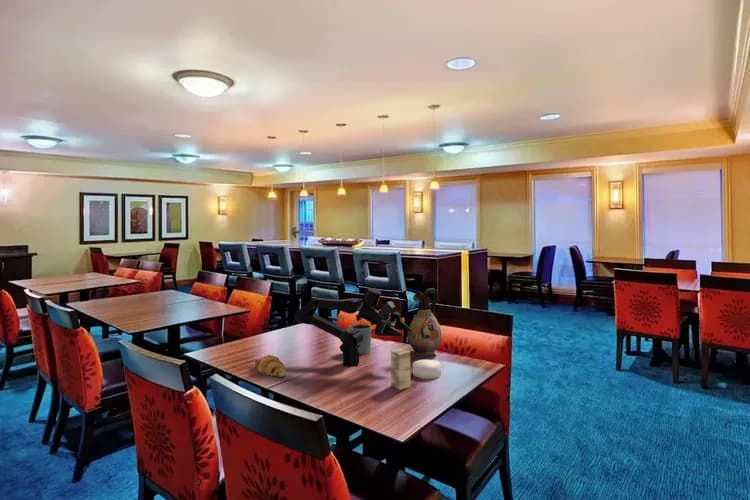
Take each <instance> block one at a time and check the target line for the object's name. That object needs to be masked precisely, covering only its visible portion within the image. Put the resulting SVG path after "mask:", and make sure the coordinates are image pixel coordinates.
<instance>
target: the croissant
mask: <svg viewBox="0 0 750 500" xmlns="http://www.w3.org/2000/svg"><path fill="white" fill-rule="evenodd" d="M254 363H255V366H254V367H255V369H256V371H257V372H258V373H259V372H260V374H261V373H262V374H261V375H263V374H265V375H264V376H268V375H271V376H270V377H277V378H282V377H285V376H286V374H287V370H286V366H285V365H284V363H283V362H282V361H281V360H280V358H279V357H278V356H274V355H270V354H267V355H265V356H264V357H261V358H258V359H255V361H254Z"/></svg>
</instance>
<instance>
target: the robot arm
mask: <svg viewBox="0 0 750 500" xmlns="http://www.w3.org/2000/svg"><path fill="white" fill-rule="evenodd" d="M381 296H382V291H381V290H379V289H377V288H373V287H372V288H371V287H366V288H365V289H364V293H363V296H362V298H359V297H358V298H357V297H352V298H347V299H346V298H345V299H336V298H323V297H317V296H315V297H314V298H313V297H312V298H310V299H309V301H308V302H307V303H306V304H304V305H303V306H302V307H300V308H299V309H297V310H296V311H295V313H294V318H295V321H296V322H298V323H301V324H303V325H311V326H314V327H315V328H317V329H319V330H322V331H324V332H326V333H327V334H330V335H331V336H333V337H336V338H338V339H339V341H340V342H341V345H340V346H339V350H340V352H342V366H343V367H351V366H352V367H353V366H359V363H360V354H359V352H358V348H359V347H360V344H361V343H362V342H363V335H362V333H360V332H359V330H356V329H354V328H353V327H350V326H349V327H348V328H343V327H342V326H340V325H338V324H336V323H334V322H331V321H330V320H328V319H326V318H323V317H322V316H320V315H318V313H317V310H318V309H319V308H320V309H321V308H322V309H329V310H338V311H341V312H343V313H345V314H350V315H352V314H355V313H357V312H358V313H357V314H355V318H356V321H357V322H360V321H362V320H365V321H368V322H369V323H370V325H371V326H373V325H374V326H375V328H374V330H373V332H374V335H376V336H377V337H400V338H401V337H402V336H403V333H402V332H401V331H405V332H408V331H410V328H409V327H410V326H408V324H406V323H405V322H404V321H403V320H402V316H401V312H398V311H395V312H393V313H391V312H392V311H393V310H394V309H395V308H396V305H395V302H393V301H387V302H386V303H385V304H384V305H383V307H382V308H380V309H375V308H374V307H377V306H378V304H379V300H380V298H381Z"/></svg>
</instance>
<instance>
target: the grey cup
mask: <svg viewBox="0 0 750 500" xmlns="http://www.w3.org/2000/svg"><path fill="white" fill-rule="evenodd" d="M350 327H353V328H354V329H356V330H359V332H360V333H362V335H363V342H362V343H361V344H360V347H359V348H358V352H359V355H366V354H367V355H368V354H370V353H371V349H372V347H371V343H372V325H371V324H367V323H359V324H358V323H357V324H352V325H350V326H349V328H350Z"/></svg>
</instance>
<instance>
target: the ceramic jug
mask: <svg viewBox="0 0 750 500" xmlns="http://www.w3.org/2000/svg"><path fill="white" fill-rule="evenodd" d="M430 293H431V294H433V298H432V299H431V297H430V296H429V294H430ZM438 299H439V293H438V290H437V289H435V288H434V287H428V288H427V289H425V290H424V293H422V292H420V291H417V292H415V293H414V295H413V297H412V300H413V301H416V302H418V303H419V304H421V305H420V308H419V310H418V312H417V313H416V314H415V316H414V317H413V319H412V320H411V323H409V326H408V327H409V328H410V331H407V341H408V344H409V345H410V347H411V349H412V350H413V353H414V354H415V355H418V356H432V355H434V354H435V351H436V350H437V348H438V347H440V345H441V342H442V336H443V335H442V334H443V333H442V330H441V326H440V323H439V322H438V320H437V318H436V316H435V309H436V304H437V301H438ZM429 303H431V304H430V305H429Z"/></svg>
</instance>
